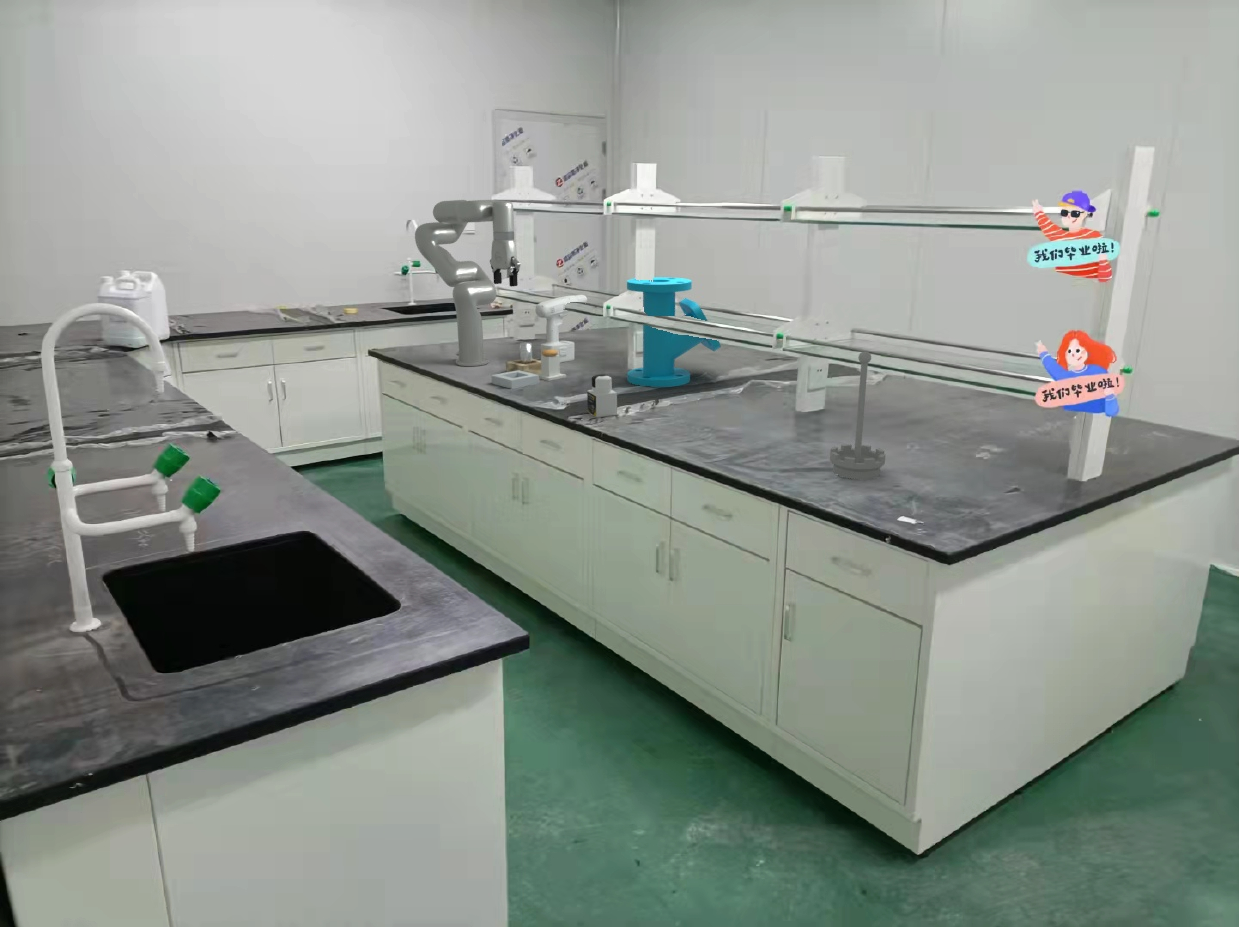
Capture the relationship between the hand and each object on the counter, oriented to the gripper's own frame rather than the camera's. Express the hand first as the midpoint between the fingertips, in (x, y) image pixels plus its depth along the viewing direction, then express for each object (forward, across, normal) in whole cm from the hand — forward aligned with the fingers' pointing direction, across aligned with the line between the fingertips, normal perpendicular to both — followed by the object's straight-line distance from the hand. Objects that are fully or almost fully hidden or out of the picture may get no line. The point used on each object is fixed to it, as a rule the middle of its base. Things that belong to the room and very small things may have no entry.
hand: (505, 285), depth 327 cm
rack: (+32, +7, +3) cm, 33 cm away
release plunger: (+30, +20, +4) cm, 37 cm away
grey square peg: (+32, +7, +3) cm, 33 cm away
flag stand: (+30, +158, -11) cm, 162 cm away
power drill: (+32, -2, +28) cm, 43 cm away
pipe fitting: (+32, +54, +33) cm, 70 cm away
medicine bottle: (+31, +72, -17) cm, 81 cm away
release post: (+32, +20, +4) cm, 38 cm away
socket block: (+32, +19, -11) cm, 39 cm away
